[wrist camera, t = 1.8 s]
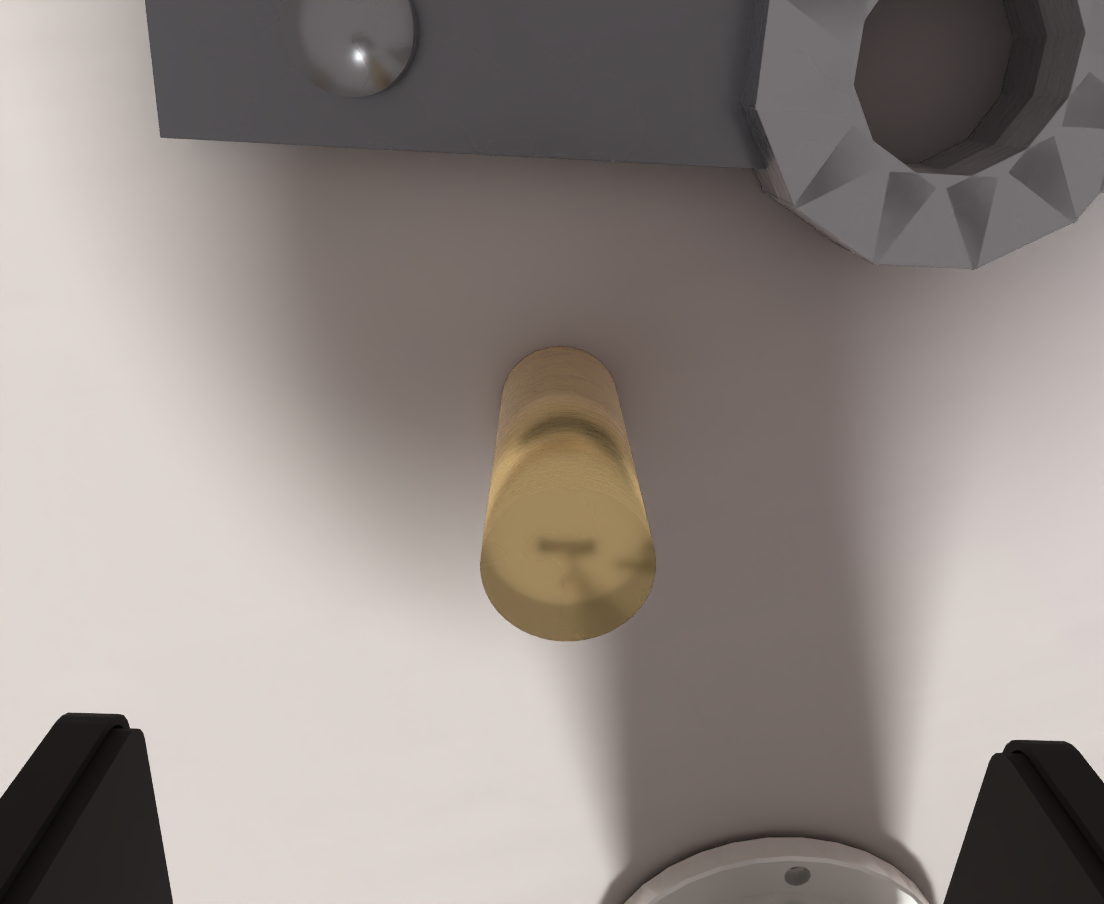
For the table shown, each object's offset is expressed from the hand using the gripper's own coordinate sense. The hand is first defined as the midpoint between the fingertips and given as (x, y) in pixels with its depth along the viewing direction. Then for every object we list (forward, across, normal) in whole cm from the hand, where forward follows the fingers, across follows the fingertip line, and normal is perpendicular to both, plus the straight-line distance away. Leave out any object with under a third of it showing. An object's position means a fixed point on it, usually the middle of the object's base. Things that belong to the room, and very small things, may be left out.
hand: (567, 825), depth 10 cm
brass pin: (+16, 0, +1) cm, 16 cm away
